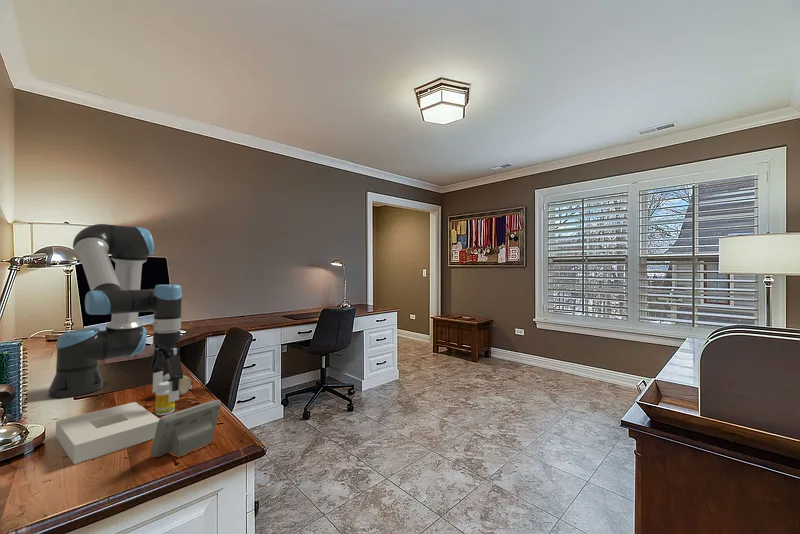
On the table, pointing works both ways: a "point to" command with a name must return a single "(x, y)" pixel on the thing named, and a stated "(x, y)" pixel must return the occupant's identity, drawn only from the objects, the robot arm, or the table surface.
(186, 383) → the ceramic mug
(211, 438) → the digital clock
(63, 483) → the table surface
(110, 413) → the holder block
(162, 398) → the supplement bottle
